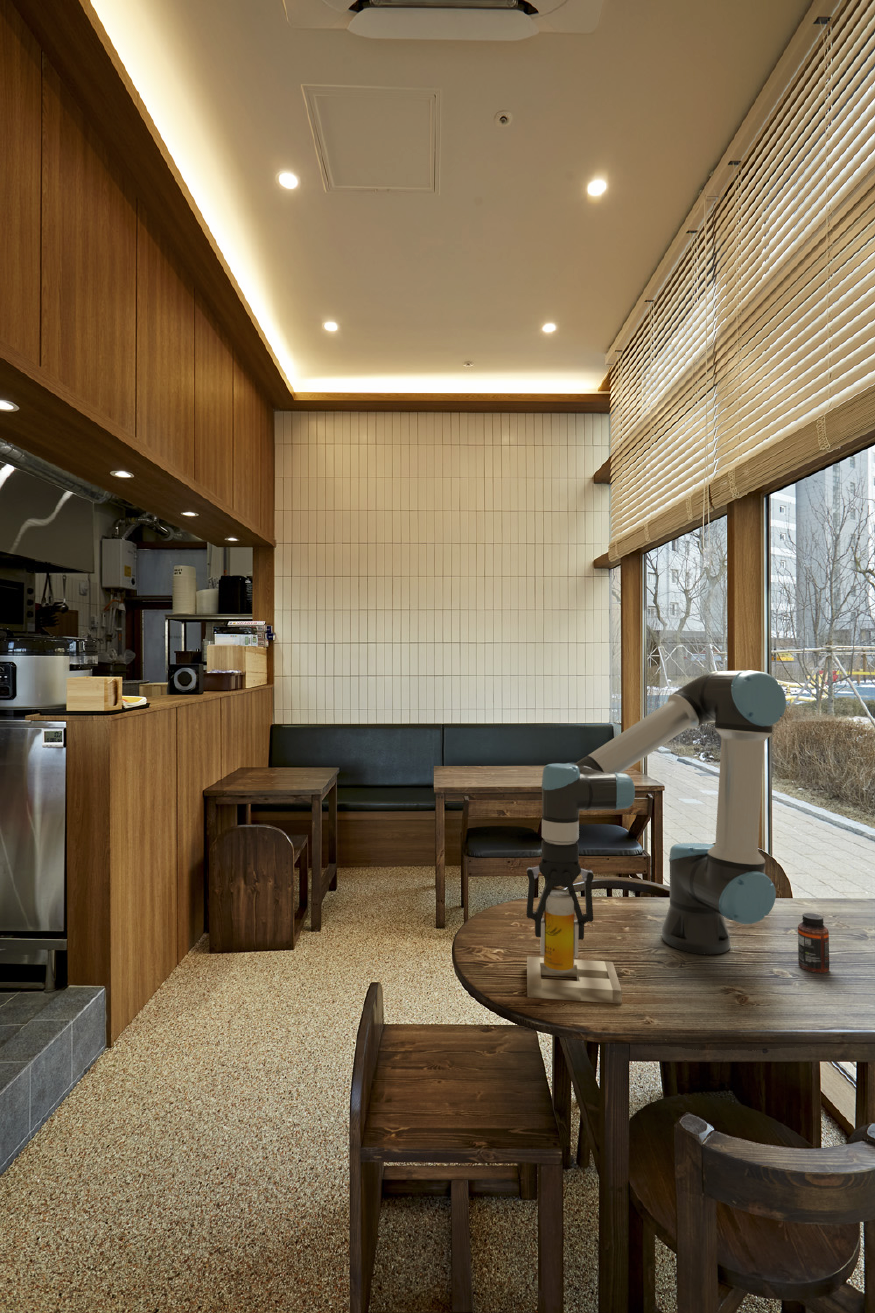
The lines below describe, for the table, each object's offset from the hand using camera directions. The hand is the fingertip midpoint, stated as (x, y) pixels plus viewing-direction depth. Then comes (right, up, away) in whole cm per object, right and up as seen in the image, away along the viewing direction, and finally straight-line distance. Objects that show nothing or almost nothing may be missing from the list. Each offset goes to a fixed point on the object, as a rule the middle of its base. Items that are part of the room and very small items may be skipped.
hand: (559, 953), depth 136 cm
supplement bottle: (+57, -7, +9) cm, 58 cm away
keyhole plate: (+2, -6, 0) cm, 7 cm away
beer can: (0, -3, 0) cm, 3 cm away
